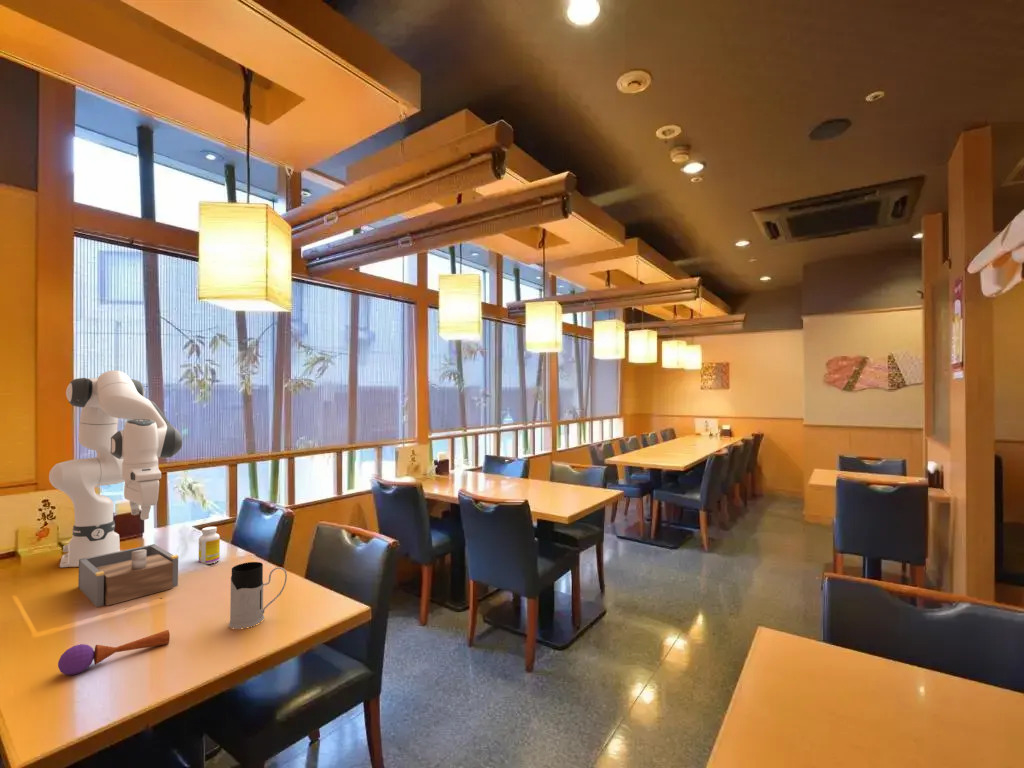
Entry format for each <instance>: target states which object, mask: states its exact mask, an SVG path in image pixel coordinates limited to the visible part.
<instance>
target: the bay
mask: <svg viewBox="0 0 1024 768" xmlns="http://www.w3.org/2000/svg"><path fill="white" fill-rule="evenodd" d="M143 549H145V550H147V553H146V557H147V556H151V555H156V554H159V555H161V556H163V557H164V558H166V559H168V560H169V561H171V562H173V588H174V587H177V586H179V582H178V581H179V555H177V554H173V553H170V552H169V551H167V550H166V549H163V548H162V547H160V546H159V545H157V544H149V545H143V546H138V547H134V548H128V549H123V550H121V551H118V552H113V553H108V554H103V555H98V556H93V557H88V558H83V559H79V567H78V579H77V581H78V584H77V585H78V586H77V587H78V589H79V590H80V591H81V592H82V593H83V595H84V596H85V597H87V599H88V600H89V601H90V602H91V603H92V604H93V605H94V606H95V607H96V608H99V607H100V608H101V607H103V606H107V605H106V604H105V603H104V572H103V571H101V572H100V571H99V570H98V569H97V568H96V567H101V566H105V565H110V564H114V563H119V562H124V561H128V560H132V552H133V551H136V550H143Z"/></svg>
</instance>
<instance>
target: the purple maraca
mask: <svg viewBox="0 0 1024 768" xmlns="http://www.w3.org/2000/svg"><path fill="white" fill-rule="evenodd" d="M170 638H171V637H170V630H169V629H167V630H163V631H160V632H158V633H154V634H151V635H148V636H145V637H143V638H140V639H136V640H134V641H131V642H128V643H124V644H122V645H119V646H116V647H115V646H107V645H102V644H95V646H94V649H93V647H92V646H91V645H89V644H85V643H84V644H83V643H80V644H77V645H73V646H72V647H70V648H68V649H66V651H64V652H63V653H62V654H61V656H60V658H59V659H58V661H57V662H58V663H57V666H58V669H59V671H60V672H61V673H62V674H64V675H66V676H73V675H74V676H75V675H77V674H81V673H82V672H83V671H86V670H87V669H88V668H89V667H90V666H91V665H92V663H93V664H94V665H95V666H96V665H98V664H99V663H101V662H102V661H104V660H105V659H107V658H109V657H110V656H112V655H114V654H115V653H121V652H126V651H127V652H128V651H134V650H140V649H145V648H151V647H158V646H164V645H165V646H166V645H169V644H170Z"/></svg>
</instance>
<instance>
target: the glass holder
mask: <svg viewBox="0 0 1024 768" xmlns="http://www.w3.org/2000/svg"><path fill="white" fill-rule="evenodd" d="M275 570H283V572H284V575H285V576H284V578H285V579H284V584H283V586H282V589H280V591H279V593H278V594H277V595H276V596H275V597H274V598H273V599H272V600H271V601H270V602H268V603H267V604H266V605H265V606H264V586H267V585H269V584H270V583H271V576H272V574H273V573H274V572H275ZM263 572H264V565H263V563H262V562H261V561H249V562H248V561H247V562H244V563H240V564H237V565H234V566H233V567H232V568H231V577H230V609H229V610H230V612H229V613H230V615H229V616H230V619H229V623H228V626H229V627H230V628H234V629H241V628H247V627H251V626H254V625H256V624H258V623H260V622H261V621H262V620H263V619H264V617H265V615H264V614H265V610H266V609H267V608H268V607H269V606H270V605H271V604H272V603H273V602H274V601H275V600H277V598H278V597H279V596H280V595H282V593H283V591H284V589H285V587H286V583H287V579H288V577H287V576H288V573H287V571H286V569H285V568H283V567H279V566H277V567H275V568H273V569H272V570H271V571H270V572H269V576H268V582H266V583H264V581H263V580H264V579H263V577H264V575H263V574H264V573H263ZM228 626H227V627H228ZM229 627H228V628H229ZM254 627H255V626H254ZM230 628H229V629H230ZM251 628H252V627H251ZM234 629H233V630H234Z"/></svg>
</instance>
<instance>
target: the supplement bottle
mask: <svg viewBox="0 0 1024 768" xmlns="http://www.w3.org/2000/svg"><path fill="white" fill-rule="evenodd" d="M217 529H218V527H217V526H207V527H204V528H202V529H201V533H202V534H201V535H200V536H199V537H198V562H199V563H201V564H203V565H205V564H211V563H214V562H217V561H218V562H220V553H221V552H220V547H221V544H220V542H221V541H220V538H221V536H220V534H219V533H217ZM218 562H217V563H218ZM214 564H215V563H214ZM211 565H212V564H211Z"/></svg>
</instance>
